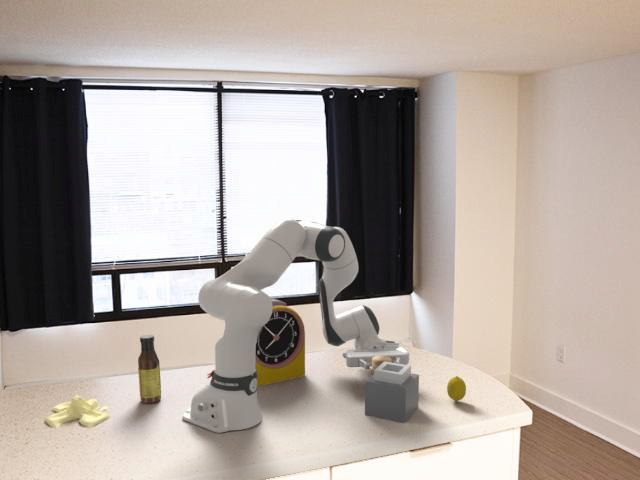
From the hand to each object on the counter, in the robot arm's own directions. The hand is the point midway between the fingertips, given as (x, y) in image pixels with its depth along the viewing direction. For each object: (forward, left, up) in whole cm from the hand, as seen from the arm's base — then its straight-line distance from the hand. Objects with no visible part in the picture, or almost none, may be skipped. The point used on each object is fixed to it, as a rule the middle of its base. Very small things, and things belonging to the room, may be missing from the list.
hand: (382, 366), depth 190 cm
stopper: (0, 0, -9) cm, 9 cm away
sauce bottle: (-61, -36, -9) cm, 71 cm away
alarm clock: (-38, -3, -9) cm, 39 cm away
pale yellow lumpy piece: (-73, -51, -10) cm, 90 cm away
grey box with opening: (+7, -11, -9) cm, 16 cm away
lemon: (+22, +4, -9) cm, 24 cm away
